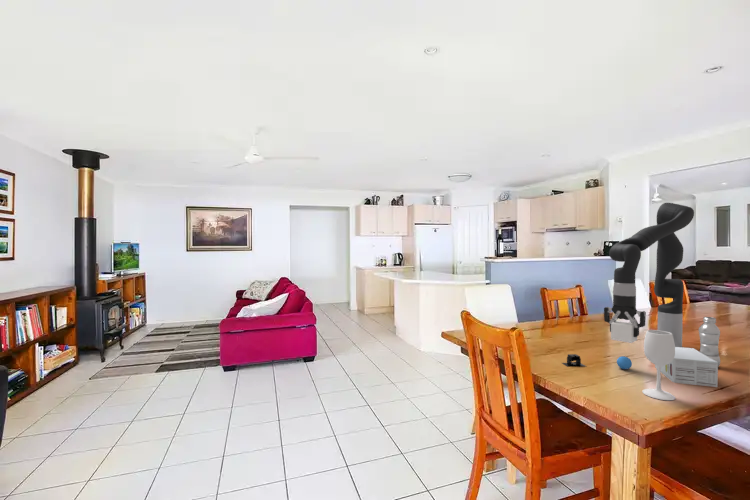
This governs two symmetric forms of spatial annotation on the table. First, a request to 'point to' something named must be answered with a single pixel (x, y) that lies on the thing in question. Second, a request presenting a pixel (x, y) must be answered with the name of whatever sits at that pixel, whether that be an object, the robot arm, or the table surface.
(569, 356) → the black screwed bracket block
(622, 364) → the ball
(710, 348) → the plastic bottle
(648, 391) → the wineglass
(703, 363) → the supplement box
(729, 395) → the table surface
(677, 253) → the robot arm
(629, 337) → the smooth white box
